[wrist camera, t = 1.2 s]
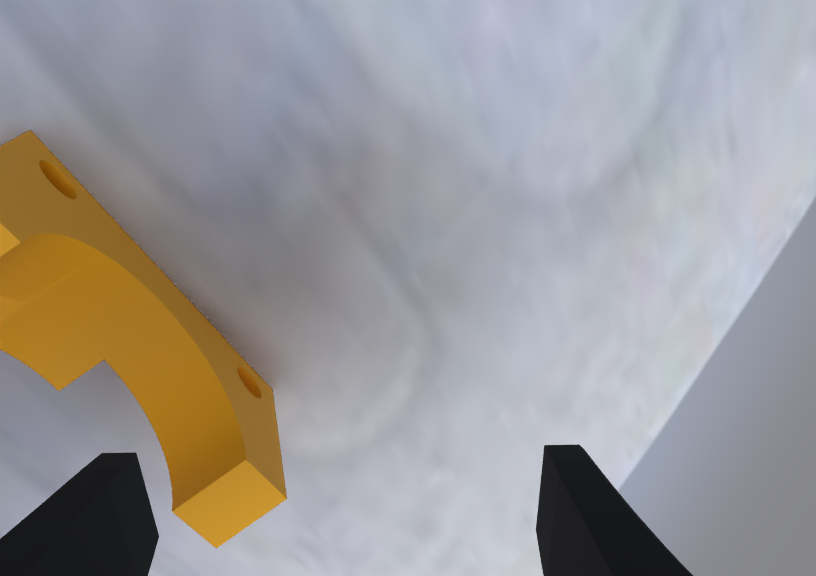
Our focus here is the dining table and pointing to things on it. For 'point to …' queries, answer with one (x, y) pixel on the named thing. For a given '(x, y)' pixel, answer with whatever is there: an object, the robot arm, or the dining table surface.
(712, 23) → the dining table surface
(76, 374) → the pipe clamp
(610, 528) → the robot arm
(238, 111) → the dining table surface
